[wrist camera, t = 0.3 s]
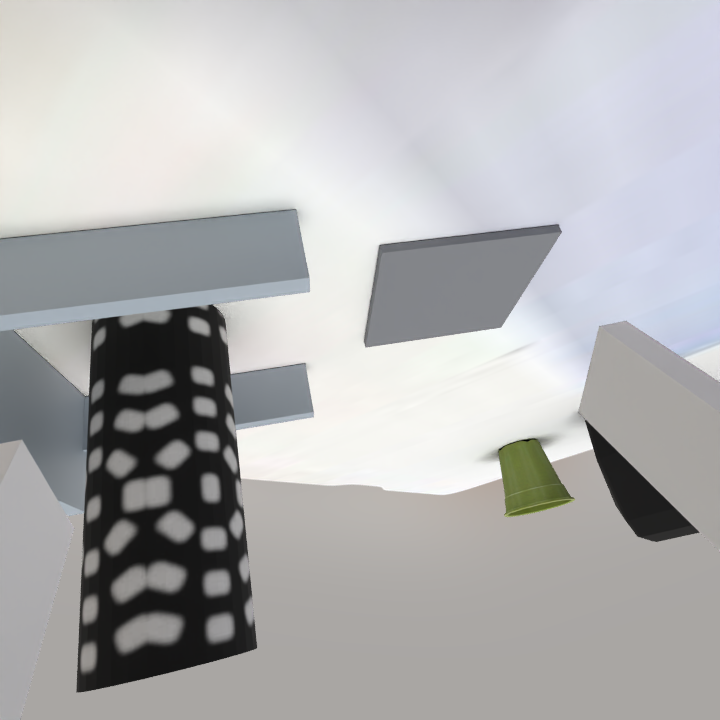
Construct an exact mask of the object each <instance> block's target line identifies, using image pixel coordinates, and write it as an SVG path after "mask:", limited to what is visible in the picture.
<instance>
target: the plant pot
mask: <svg viewBox="0 0 720 720" xmlns="http://www.w3.org/2000/svg"><path fill="white" fill-rule="evenodd" d="M499 459H500V465H501V472H502V478H503V484H504V491H505V505H506V513H505V517H513V516H520V515H525V514H531V513H535V512H539V511H543V510H547V509H551V508H554V507H558V506H561V505H564V504H567V503H570V502H572V501H574V500H575V499H574V498H573V497H571V496H570V495H569V493H568V492H567V490H566V488H565V486H564V485H563V484H562V483H561V481H560V480H559V478H558V476H557V474H556V472H555V471H554V469H553V468H552V465H551V463H550V461H549V460H548V458H547V456H546V454H545V452H544V451H543V449H542V447H541V445H540V443H539V441H538V440H534V439H531V440H530V441H528V442H526V441H518V442H515V443H513V444H508V445H506V446H505V447H503V448H502V450H499Z"/></svg>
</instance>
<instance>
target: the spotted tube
mask: <svg viewBox="0 0 720 720" xmlns="http://www.w3.org/2000/svg"><path fill="white" fill-rule="evenodd" d="M82 553H83V554H82V577H81V601H80V623H79V646H78V671H77V692H85V691H91V690H96V689H100V688H105V687H110V686H114V685H119V684H123V683H128V682H132V681H137V680H141V679H145V678H149V677H153V676H157V675H161V674H166V673H170V672H174V671H178V670H182V669H186V668H190V667H194V666H197V665H201V664H205V663H209V662H213V661H216V660H220V659H224V658H227V657H230V656H234V655H238V654H241V653H244V652H248V651H250V650H254V649H256V648H257V642H256V633H255V622H254V612H253V602H252V591H251V581H250V571H249V560H248V550H247V541H246V530H245V519H244V510H243V499H242V489H241V478H240V468H239V458H238V447H237V437H236V427H235V417H234V406H233V396H232V386H231V376H230V365H229V355H228V345H227V334H226V324H225V319H224V317H223V315H222V314H221V313H220V312H219V311H218V310H217V309H216V308H215V307H214V306H212V305H203V306H195V307H187V308H179V309H172V310H164V311H156V312H148V313H140V314H132V315H124V316H116V317H108V318H101V319H93V322H92V340H91V364H90V387H89V411H88V434H87V458H86V481H85V505H84V529H83V552H82Z"/></svg>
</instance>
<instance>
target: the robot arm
mask: <svg viewBox="0 0 720 720" xmlns="http://www.w3.org/2000/svg"><path fill="white" fill-rule="evenodd" d="M579 413H580V414H581V415H582V416H583V417H584V418H585V419H586V420H587V421H588V422H589V423H590V424H591V425H592V426H593V427H594V428H595V429H596V430H597V431H598V432H599V433H600V434H601V435H602V436H603V437H604V438H605V439H606V440H607V441H608V442H609V443H610V444H611V445H612V446H613V447H614V448H615V449H616V450H617V451H618V452H619V453H620V454H621V455H622V456H623V457H624V458H625V459H626V460H627V461H628V462H629V463H630V464H631V465H632V466H633V467H634V468H635V469H636V470H637V471H638V472H639V473H640V474H641V475H642V476H643V477H644V478H645V479H646V480H647V481H648V482H649V483H650V484H651V485H652V486H653V487H654V488H655V489H656V490H657V491H658V492H659V493H660V494H662V495H663V496H664V497H665V498H666V499H667V500H668V501H669V502H670V503H671V504H672V505H673V506H674V507H675V508H676V509H677V510H678V511H679V512H680V513H681V514H682V515H683V516H684V517H685V518H686V519H687V520H688V521H689V522H690V523H691V524H692V525H693V526H694V527H695V528H696V529H697V530H698V531H699V532H700V533H701V534H702V535H703V536H704V537H705V538H706V539H707V540H708V541H709V542H710V543H711V544H712V545H713V546H714V547H715V548H716V549H717V550H718V551H719V552H720V382H719V381H717V380H715V379H714V378H712V377H711V376H709V375H708V374H706V373H705V372H703V371H702V370H700V369H699V368H697V367H696V366H694V365H693V364H691V363H690V362H688V361H686V360H685V359H683V358H682V357H680V356H679V355H677V354H676V353H674V352H673V351H671V350H670V349H668V348H667V347H665V346H664V345H662V344H661V343H659V342H658V341H656V340H654V339H653V338H651V337H650V336H648V335H647V334H645V333H644V332H642V331H641V330H639V329H638V328H636V327H635V326H633V325H632V324H630V323H629V322H627V321H623V322H618V323H613V324H608V325H603V326H599V329H598V333H597V337H596V342H595V346H594V350H593V354H592V358H591V362H590V366H589V370H588V375H587V379H586V383H585V387H584V391H583V395H582V399H581V403H580V408H579ZM73 531H74V527H73V526H72V524H71V522H70V521H69V519H68V517H67V515H66V514H65V512H64V510H63V509H62V507H61V505H60V503H59V502H58V500H57V498H56V497H55V495H54V493H53V491H52V490H51V488H50V486H49V485H48V483H47V481H46V480H45V478H44V476H43V474H42V473H41V471H40V469H39V468H38V466H37V464H36V463H35V461H34V459H33V457H32V456H31V454H30V452H29V451H28V449H27V447H26V445H25V444H24V442H23V440H17V441H12V442H7V443H2V444H0V720H21V716H22V713H23V709H24V705H25V701H26V698H27V695H28V691H29V688H30V684H31V680H32V677H33V673H34V669H35V666H36V663H37V659H38V656H39V652H40V648H41V645H42V641H43V637H44V634H45V631H46V627H47V623H48V620H49V616H50V613H51V609H52V605H53V602H54V599H55V595H56V591H57V588H58V584H59V581H60V577H61V574H62V570H63V567H64V563H65V559H66V556H67V552H68V549H69V545H70V541H71V538H72V534H73Z"/></svg>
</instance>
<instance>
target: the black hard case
mask: <svg viewBox="0 0 720 720" xmlns="http://www.w3.org/2000/svg"><path fill="white" fill-rule="evenodd" d="M585 422H586V425H587V428H588V432H589V435H590V439H591V442H592V445H593V449H594V452H595V455H596V459H597V462H598V464H599V466H600V469H601V471H602V474H603V476H604V478H605V481H606V483H607V486H608V488H609V490H610V493H611V495H612V498H613V500H614V502H615V505H616V507H617V508H618V510H619V511H620V513H621V514H622V516H623V517H624V519H625V520H626V522H627V523H628V524H629V526H630V527H631V528H632V530H633V531H634V532H635V534H636V535H637V536H638V537H641V538H644V539H647V540H651V541H655V542H658V541H662V540H667V539H671V538H676V537H681V536H685V535H690V534H694V533H699V531H698V530H697V529H696V528H695V527H694V526H693V525H692V524H691V523H690V522H689V521H688V520H687V519H686V518H685V517H684V516H683V515H682V514H681V513H680V512H679V511H678V510H677V509H676V508H675V507H674V506H673V505H672V504H671V503H670V502H669V501H668V500H667V499H666V498H665V497H664V496H663V495H662V494H660V493H659V492H658V491H657V490H656V489H655V488H654V487H653V486H652V485H651V484H650V483H649V482H648V481H647V480H646V479H645V478H644V477H643V476H642V475H641V474H640V473H639V472H638V471H637V470H636V469H635V468H634V467H633V466H632V465H631V464H630V463H629V462H628V461H627V460H626V459H625V458H624V457H623V456H622V455H621V454H620V453H619V452H618V451H617V450H616V449H615V448H614V447H613V446H612V445H611V444H610V443H609V442H608V441H607V440H606V439H605V438H604V437H603V436H602V435H601V434H600V433H599V432H598V431H597V430H596V429H595V428H594V427H593V426H592V425H591V424H590V423H589V422H588V421H587V420H585Z"/></svg>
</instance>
